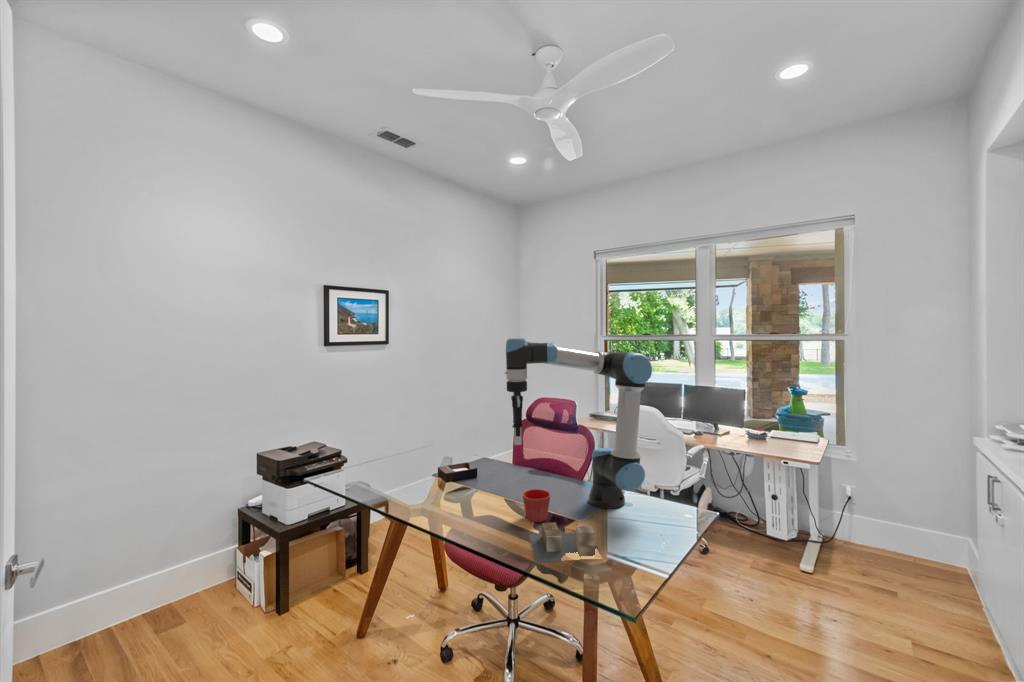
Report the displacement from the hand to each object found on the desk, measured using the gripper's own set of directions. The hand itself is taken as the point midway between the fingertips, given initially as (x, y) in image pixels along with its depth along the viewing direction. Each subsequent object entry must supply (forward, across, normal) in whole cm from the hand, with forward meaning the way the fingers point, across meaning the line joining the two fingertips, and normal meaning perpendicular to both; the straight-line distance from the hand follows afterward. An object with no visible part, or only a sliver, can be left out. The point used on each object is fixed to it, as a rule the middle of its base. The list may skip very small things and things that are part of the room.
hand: (517, 444), depth 168 cm
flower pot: (+33, -11, +8) cm, 35 cm away
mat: (+32, +14, +14) cm, 38 cm away
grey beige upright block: (+32, +20, +20) cm, 43 cm away
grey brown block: (+30, +18, +10) cm, 36 cm away
